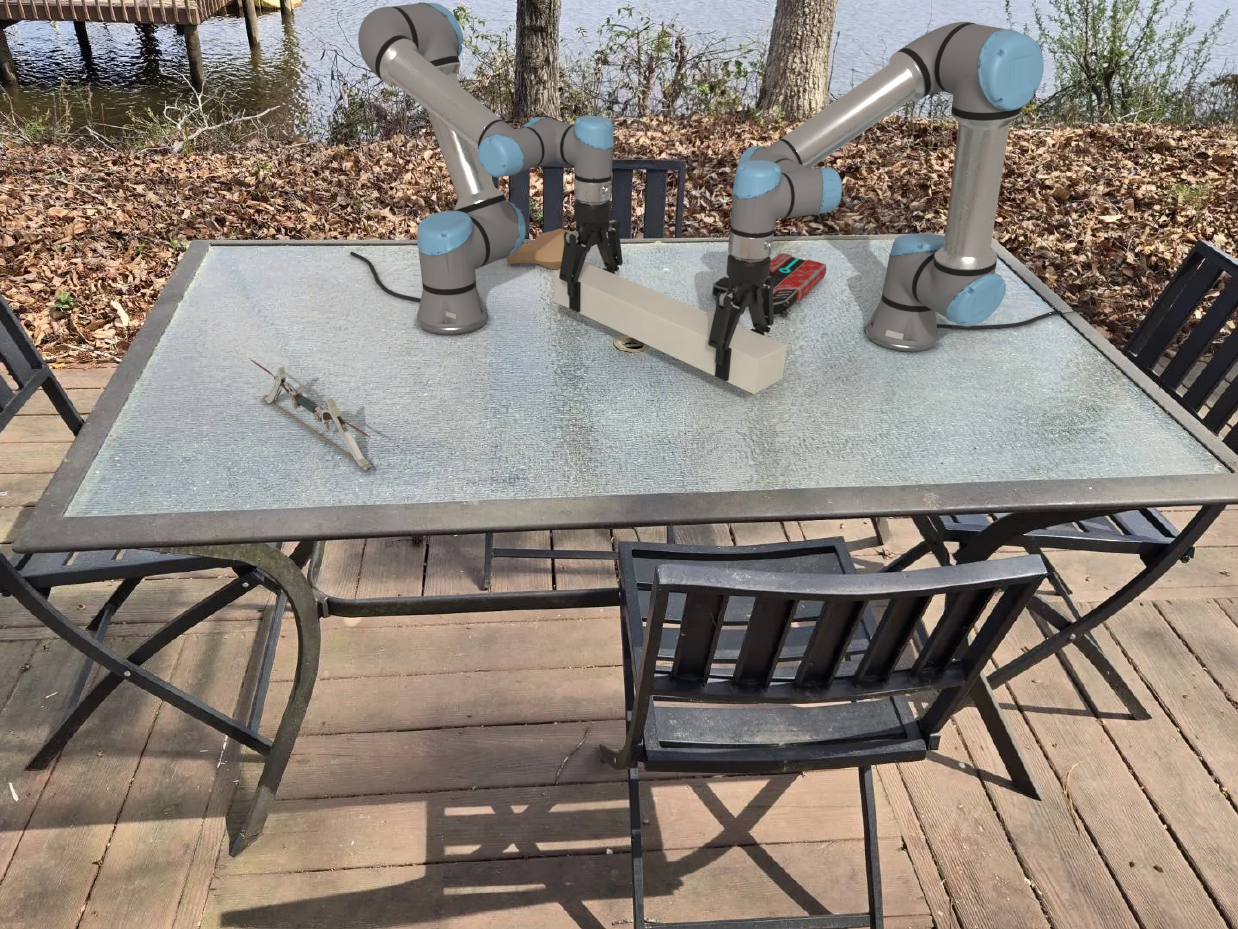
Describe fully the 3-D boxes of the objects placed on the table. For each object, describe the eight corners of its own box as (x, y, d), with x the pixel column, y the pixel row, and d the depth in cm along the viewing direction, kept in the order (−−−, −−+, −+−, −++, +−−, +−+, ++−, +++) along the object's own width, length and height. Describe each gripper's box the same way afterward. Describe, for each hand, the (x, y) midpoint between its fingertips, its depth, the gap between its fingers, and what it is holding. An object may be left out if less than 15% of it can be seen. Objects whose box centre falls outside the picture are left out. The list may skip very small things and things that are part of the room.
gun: (708, 284, 207) (784, 305, 199) (760, 245, 229) (831, 262, 221) (706, 302, 209) (781, 323, 201) (758, 261, 231) (828, 278, 223)
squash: (584, 273, 223) (579, 241, 217) (507, 280, 225) (500, 249, 219) (585, 251, 231) (581, 220, 225) (511, 258, 233) (504, 227, 227)
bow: (382, 473, 146) (374, 421, 141) (372, 477, 145) (364, 425, 140) (264, 393, 168) (253, 345, 162) (255, 396, 167) (243, 348, 161)
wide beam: (554, 301, 190) (553, 270, 186) (583, 291, 195) (583, 261, 191) (753, 394, 158) (758, 359, 154) (782, 379, 163) (787, 345, 160)
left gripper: (565, 215, 167) (565, 323, 180) (643, 193, 180) (638, 296, 192) (539, 205, 171) (541, 311, 184) (618, 184, 184) (614, 286, 197)
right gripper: (726, 277, 144) (715, 396, 156) (804, 245, 156) (788, 359, 169) (692, 264, 148) (684, 381, 161) (770, 234, 161) (757, 346, 173)
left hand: (591, 304), depth 188 cm, fingers closed on wide beam, 9 cm apart
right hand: (737, 370), depth 165 cm, fingers closed on wide beam, 9 cm apart
